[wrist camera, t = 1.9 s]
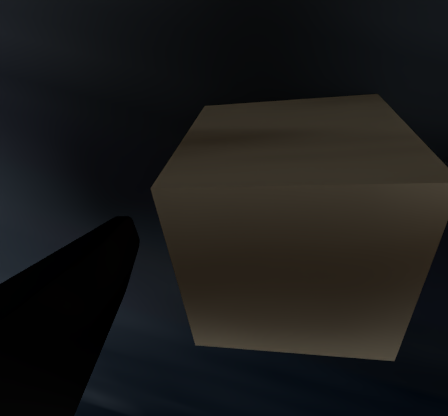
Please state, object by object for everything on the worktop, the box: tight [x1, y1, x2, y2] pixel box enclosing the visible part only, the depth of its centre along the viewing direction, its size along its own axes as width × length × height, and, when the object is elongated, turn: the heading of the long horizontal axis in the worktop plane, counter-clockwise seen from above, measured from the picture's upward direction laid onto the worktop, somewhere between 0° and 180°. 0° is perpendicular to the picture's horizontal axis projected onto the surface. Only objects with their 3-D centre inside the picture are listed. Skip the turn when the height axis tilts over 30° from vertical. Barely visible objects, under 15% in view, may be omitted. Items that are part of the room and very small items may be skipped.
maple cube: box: [150, 94, 448, 361], centre depth 8 cm, size 5×5×5 cm
